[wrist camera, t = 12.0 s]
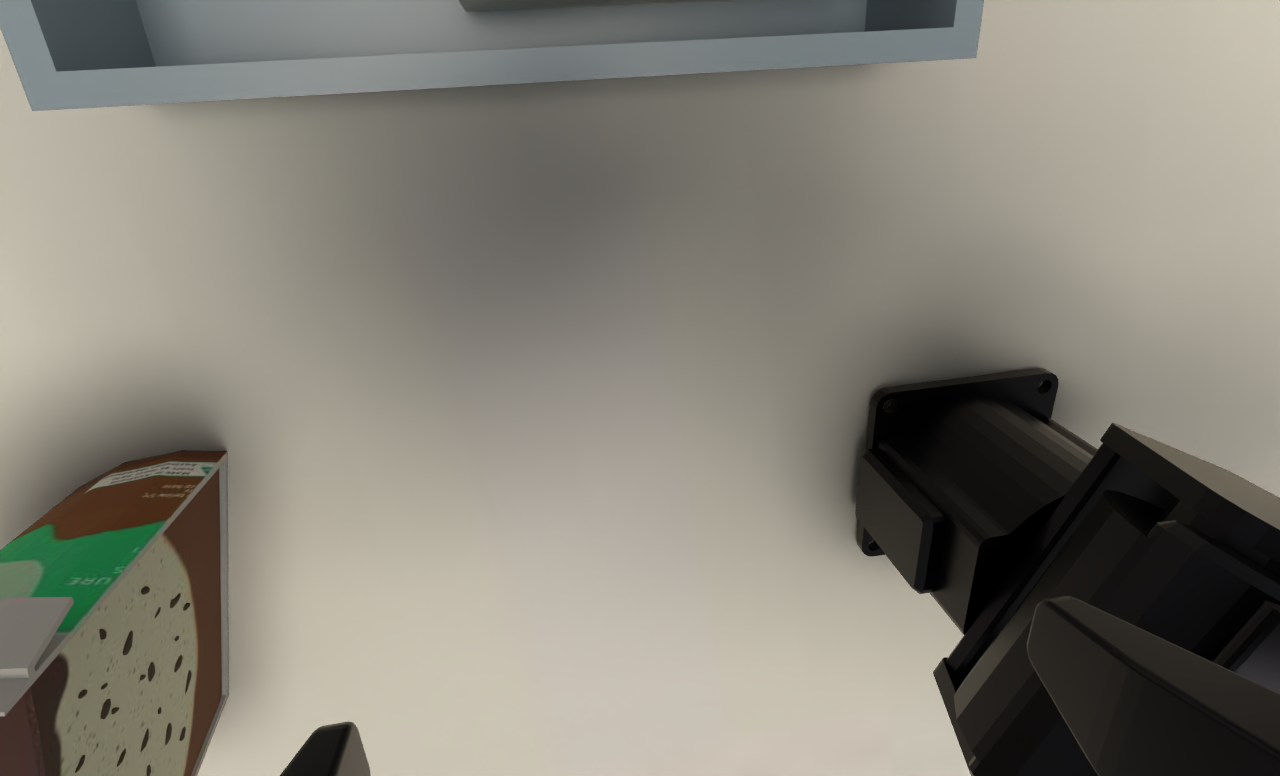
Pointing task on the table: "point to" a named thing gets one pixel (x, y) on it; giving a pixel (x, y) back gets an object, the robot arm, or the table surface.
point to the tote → (442, 44)
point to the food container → (118, 624)
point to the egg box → (553, 3)
